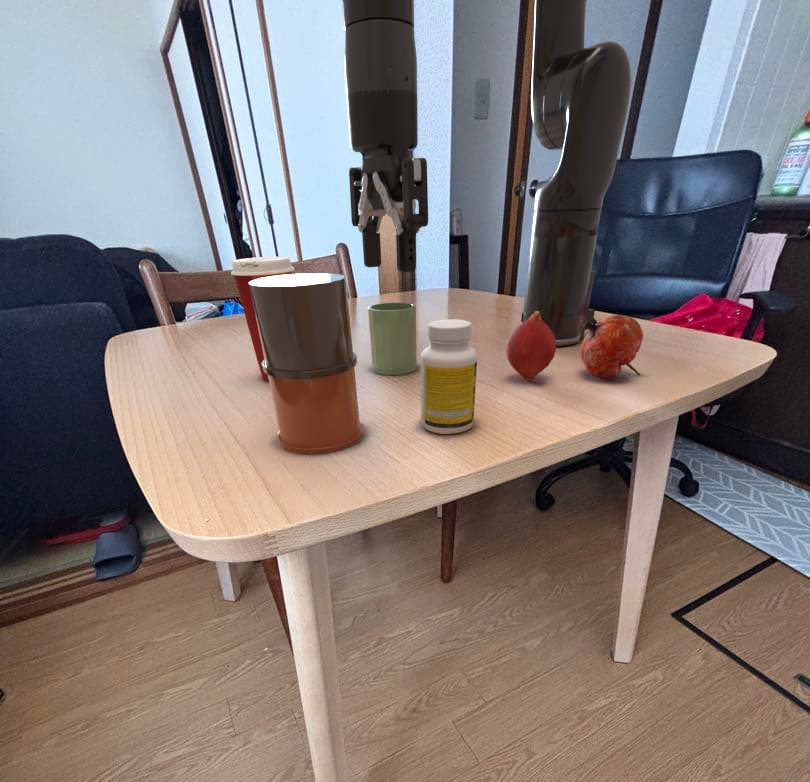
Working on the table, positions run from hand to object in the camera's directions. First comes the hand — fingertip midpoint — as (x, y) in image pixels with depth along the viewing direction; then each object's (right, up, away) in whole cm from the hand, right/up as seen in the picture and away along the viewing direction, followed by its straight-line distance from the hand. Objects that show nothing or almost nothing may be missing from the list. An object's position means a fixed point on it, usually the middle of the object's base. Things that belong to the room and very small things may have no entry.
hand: (388, 269), depth 59 cm
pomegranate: (+28, -13, +1) cm, 31 cm away
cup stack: (-6, -24, -11) cm, 27 cm away
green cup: (+1, -10, +7) cm, 12 cm away
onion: (+18, -14, +1) cm, 22 cm away
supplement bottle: (+6, -22, -10) cm, 25 cm away
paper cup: (-15, -11, +7) cm, 20 cm away
